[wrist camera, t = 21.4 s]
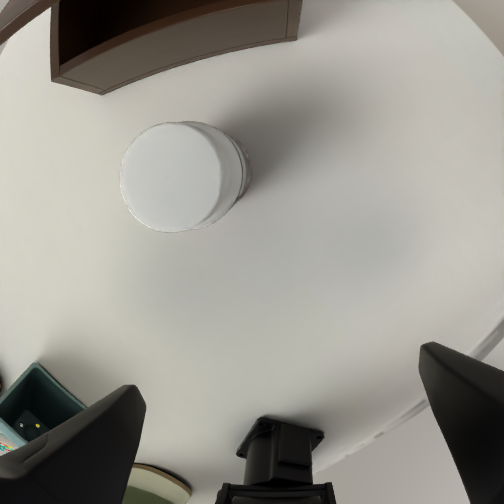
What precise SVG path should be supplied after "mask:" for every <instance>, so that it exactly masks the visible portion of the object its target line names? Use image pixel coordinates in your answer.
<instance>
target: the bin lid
mask: <svg viewBox="0 0 504 504" xmlns="http://www.w3.org/2000/svg"><path fill="white" fill-rule="evenodd" d="M59 1H61V0H9V2H8V3H7V4H6V6H5V7H4V9H3V10H2V11H1V13H0V45H2V44H3V43H4V42H5V41H6V40H7V39H9V38H10V37H11V36H12V35H13V34H15V33H16V32H17V31H18V30H20V29H21V28H22V27H23V26H25V25H26V24H27V23H29V22H30V21H31V20H33V19H34V18H36V17H37V16H38V15H40V14H41V13H43V12H44V11H45V10H47V9H48V8H50V7H51V6H53V5H54V4H56V3H57V2H59Z"/></svg>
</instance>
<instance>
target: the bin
mask: <svg viewBox="0 0 504 504" xmlns="http://www.w3.org/2000/svg"><path fill="white" fill-rule="evenodd" d="M302 2H303V0H61V1H59V2H57V3H56V4H54V5H53V6H51V22H50V66H51V81H52V82H55V83H59V84H63V85H67V86H70V87H74V88H78V89H82V90H85V91H89V92H92V93H96V94H99V95H104V94H106V93H108V92H110V91H113V90H115V89H117V88H120V87H122V86H125V85H127V84H130V83H132V82H135V81H137V80H140V79H142V78H145V77H148V76H151V75H153V74H156V73H159V72H162V71H165V70H168V69H171V68H174V67H177V66H180V65H184V64H187V63H190V62H194V61H197V60H201V59H204V58H208V57H212V56H216V55H220V54H224V53H228V52H233V51H237V50H242V49H247V48H252V47H257V46H262V45H268V44H274V43H280V42H287V41H294V40H297V35H298V28H299V22H300V15H301V9H302Z"/></svg>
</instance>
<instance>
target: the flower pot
mask: <svg viewBox="0 0 504 504" xmlns="http://www.w3.org/2000/svg"><path fill="white" fill-rule="evenodd" d="M85 409H87V407H85V406H84V405H83V404H82V403H80V402H79V401H78V400H77V399H75V398H74V397H73V396H72V395H71V394H70V393H68V392H67V391H66V390H65V389H64V388H63V387H61V386H60V385H59V384H58V383H57V382H56V381H55V380H54V379H53V378H52V377H51V376H50V375H49V374H48V373H47V372H46V371H45V370H44V369H43V368H42V367H41V366H40V365H38V364H37V363H32V364H31V365H30V366H29V367H28V368H27V370H26V371H25V372H24V373H23V374H22V375H21V376H20V377H19V378H18V379H17V380H16V382H15V383H14V384H13V385H12V386H11V387H10V388H9V389H8V390H7V391H6V392H5V394H4V395H3V396H2V397H1V398H0V431H1V432H2V433H3V434H4V435H5V436H6V437H7V438H8V439H9V440H10V441H11V442H13V443H14V444H15V445H16V446H17V447H18V448H19V447H21V446H23V445H25V444H27V443H29V442H31V441H33V440H35V439H36V438H38V437H40V436H42V435H43V434H45V433H47V432H49V431H50V430H52V429H54V428H55V427H57V426H59V425H60V424H62V423H64V422H65V421H67V420H69V419H70V418H72V417H74V416H75V415H77V414H78V413H80V412H82V411H83V410H85ZM20 423H22V424H23V425H24V426H23V427H21V426H20ZM36 424H38V425H39V428H37V427H36Z"/></svg>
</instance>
